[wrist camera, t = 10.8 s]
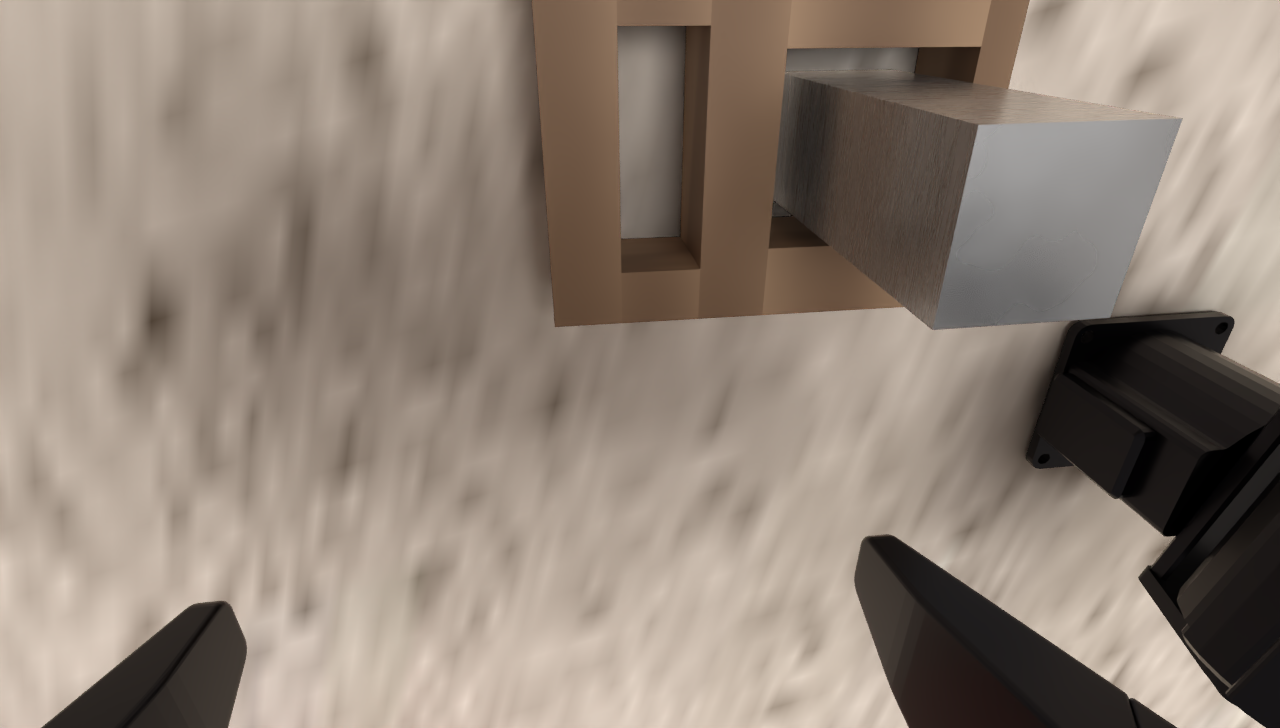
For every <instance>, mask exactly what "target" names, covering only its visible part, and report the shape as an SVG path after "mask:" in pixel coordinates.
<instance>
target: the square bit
mask: <svg viewBox="0 0 1280 728" xmlns="http://www.w3.org/2000/svg"><path fill="white" fill-rule="evenodd" d="M1182 119H1183V118H1177V117H1171V116H1165V115H1160V114H1154V113H1148V112H1142V111H1136V110H1130V109H1124V108H1118V107H1112V106H1106V105H1100V104H1094V103H1088V102H1082V101H1077V100H1071V99H1065V98H1059V97H1053V96H1047V95H1041V94H1035V93H1029V92H1023V91H1017V90H1011V89H1005V88H999V87H994V86H988V85H982V84H976V83H970V82H964V81H958V80H952V79H946V78H940V77H934V76H928V75H922V74H916V73H911V72H905V71H899V70H893V69H886V70H839V71H792V72H785V79H784V89H783V100H782V111H781V121H780V132H779V143H778V153H777V164H776V174H775V185H774V196H773V200H774V201H776V202H777V203H778V204H779V205H780V206H782V207H783V208H784V209H785V210H787V211H788V212H789V213H790V214H791V215H793V216H794V217H795V218H796V219H798V220H799V221H800V222H801V223H802V224H804V225H805V226H806V227H807V228H809V229H810V230H811V231H812V232H813V233H815V234H816V235H817V236H818V237H820V238H821V239H822V240H823V241H824V242H826V243H827V244H828V245H829V246H831V247H832V248H833V249H834V250H835V251H837V252H838V253H839V254H840V255H842V256H843V257H844V258H845V259H846V260H848V261H849V262H850V263H851V264H853V265H854V266H855V267H856V268H857V269H859V270H860V271H861V272H862V273H864V274H865V275H866V276H867V277H868V278H870V279H871V280H872V281H873V282H875V283H876V284H877V285H878V286H879V287H881V288H882V289H883V290H884V291H886V292H887V293H888V294H889V295H890V296H892V297H893V298H894V299H895V300H897V301H898V302H899V303H900V304H901V305H903V306H904V307H905V308H906V309H908V310H909V311H910V312H911V313H912V314H914V315H915V316H916V317H917V318H919V319H920V320H921V321H922V322H923V323H925V324H926V325H927V326H928V327H930V328H931V329H932V330H938V329H953V328H967V327H982V326H997V325H1011V324H1026V323H1041V322H1055V321H1070V320H1085V319H1099V318H1110V317H1111V314H1112V311H1113V308H1114V306H1115V303H1116V300H1117V297H1118V295H1119V292H1120V289H1121V286H1122V284H1123V281H1124V278H1125V275H1126V273H1127V270H1128V267H1129V264H1130V262H1131V259H1132V256H1133V253H1134V251H1135V248H1136V245H1137V242H1138V240H1139V237H1140V234H1141V231H1142V229H1143V226H1144V223H1145V220H1146V218H1147V215H1148V212H1149V209H1150V207H1151V204H1152V201H1153V198H1154V196H1155V193H1156V190H1157V187H1158V185H1159V182H1160V179H1161V176H1162V174H1163V171H1164V168H1165V165H1166V163H1167V160H1168V157H1169V154H1170V152H1171V149H1172V146H1173V143H1174V141H1175V138H1176V135H1177V132H1178V130H1179V127H1180V124H1181V121H1182Z"/></svg>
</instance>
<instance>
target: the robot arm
mask: <svg viewBox="0 0 1280 728" xmlns="http://www.w3.org/2000/svg"><path fill="white" fill-rule="evenodd" d="M1233 327H1234V319H1233V318H1232V317H1231V316H1229V315H1226V314H1224V313H1222V312H1205V313H1189V314H1173V315H1157V316H1141V317H1124V318H1108V319H1092V320H1082V321H1079V322H1077V323H1075V324H1074V325H1073V326H1072V327H1071V328H1070V329H1069V331H1068V333H1067V336H1066V339H1065V342H1064V345H1063V348H1062V351H1061V354H1060V357H1059V360H1058V362H1057V365H1056V368H1055V371H1054V374H1053V377H1052V380H1051V383H1050V386H1049V389H1048V392H1047V395H1046V398H1045V401H1044V404H1043V406H1042V409H1041V412H1040V415H1039V418H1038V421H1037V424H1036V427H1035V430H1034V433H1033V436H1032V439H1031V442H1030V445H1029V448H1028V450H1027V453H1026V459H1027V461H1028V462H1029V463H1030V464H1031V465H1032V466H1033V467H1035V468H1038V469H1043V468H1054V467H1065V466H1076V467H1077V468H1078V469H1079V470H1080V471H1081V472H1083V473H1084V474H1085V475H1086V476H1087V477H1088V478H1090V479H1091V480H1092V481H1093V482H1094V483H1095V484H1097V485H1098V486H1099V487H1100V488H1101V489H1102V490H1104V491H1105V492H1106V493H1107V494H1108V495H1109V496H1111V497H1112V498H1114V499H1118V498H1120V499H1121V500H1122V501H1123V502H1124V503H1126V504H1127V505H1128V506H1129V507H1130V508H1131V509H1133V510H1134V511H1135V512H1136V513H1137V514H1139V515H1140V516H1141V517H1142V518H1143V519H1144V520H1146V521H1147V522H1148V523H1149V524H1150V525H1152V526H1153V527H1154V528H1155V529H1156V530H1158V531H1159V532H1160V533H1161V534H1162V535H1163V536H1175V538H1174V539H1173V540H1172V541H1171V543H1170V544H1169V545H1168V546H1167V548H1166V549H1165V550H1164V551H1163V552H1162V554H1161V555H1160V556H1159V557H1158V559H1157V560H1156V561H1155V562H1154V564H1153V565H1152V566H1150V565H1149V566H1147V567H1146V568H1145V570H1144V571H1143V572H1142V573H1141V575H1140V576H1139V577H1138V578H1139V580H1140V582H1141V583H1142V585H1143V586H1144V587H1145V589H1146V590H1147V592H1148V593H1149V595H1150V596H1151V597H1152V599H1153V600H1154V602H1155V603H1156V605H1157V606H1158V607H1159V609H1160V610H1161V612H1162V613H1163V615H1164V616H1165V617H1166V619H1167V620H1168V622H1169V623H1170V625H1171V626H1172V627H1173V629H1174V630H1175V632H1176V633H1177V635H1178V636H1179V637H1180V639H1181V640H1182V642H1183V643H1184V645H1185V646H1186V647H1187V649H1188V650H1189V652H1190V653H1191V655H1192V656H1193V657H1194V659H1195V660H1196V662H1197V663H1198V664H1199V666H1200V667H1201V669H1202V670H1203V672H1204V673H1205V674H1206V675H1207V677H1208V678H1209V679H1210V680H1211V682H1212V683H1213V685H1214V686H1215V687H1216V689H1217V690H1218V692H1219V693H1220V694H1221V695H1222V696H1223V697H1224V698H1225V699H1226V700H1228V701H1229V702H1231V703H1232V704H1234V705H1236V706H1238V707H1239V708H1240V709H1241V710H1242V711H1244V712H1245V713H1246V714H1248V715H1249V716H1250V717H1252V718H1253V719H1255V720H1256V721H1257V722H1259V723H1260V724H1261V725H1263V726H1264V727H1266V728H1280V384H1279V383H1277V382H1275V381H1273V380H1271V379H1269V378H1267V377H1265V376H1263V375H1261V374H1259V373H1257V372H1255V371H1253V370H1251V369H1249V368H1247V367H1245V366H1243V365H1241V364H1239V363H1237V362H1235V361H1233V360H1231V359H1229V358H1227V357H1225V356H1223V355H1221V352H1222V350H1223V348H1224V346H1225V344H1226V342H1227V340H1228V338H1229V335H1230V333H1231V331H1232V329H1233ZM1085 332H1086V333H1085ZM1084 333H1085V335H1084V336H1082V335H1083V334H1084ZM854 581H855V588H856V592H857V595H858V598H859V601H860V604H861V606H862V609H863V612H864V615H865V618H866V621H867V623H868V626H869V629H870V632H871V635H872V638H873V640H874V643H875V646H876V649H877V652H878V655H879V657H880V660H881V663H882V666H883V669H884V672H885V674H886V677H887V680H888V682H889V685H890V688H891V690H892V692H893V694H894V697H895V699H896V701H897V703H898V706H899V708H900V710H901V712H902V714H903V716H904V718H905V720H906V723H907V725H908V727H909V728H1177V727H1175V726H1174V725H1172V724H1171V723H1169V722H1168V721H1166V720H1165V719H1163V718H1162V717H1160V716H1159V715H1157V714H1156V713H1154V712H1153V711H1151V710H1150V709H1149V708H1147V707H1146V706H1144V705H1143V704H1141V703H1140V702H1138V701H1137V700H1135V699H1133V698H1130V699H1129V698H1128V696H1127V694H1126V693H1125V692H1123V691H1122V690H1120V689H1119V688H1117V687H1116V686H1114V685H1113V684H1111V683H1110V682H1108V681H1107V680H1106V679H1104V678H1103V677H1101V676H1100V675H1098V674H1097V673H1095V672H1094V671H1092V670H1091V669H1089V668H1088V667H1086V666H1085V665H1083V664H1082V663H1080V662H1079V661H1078V660H1076V659H1075V658H1073V657H1072V656H1070V655H1069V654H1067V653H1066V652H1064V651H1063V650H1061V649H1060V648H1058V647H1057V646H1055V645H1054V644H1052V643H1051V642H1050V641H1048V640H1047V639H1045V638H1044V637H1042V636H1041V635H1039V634H1038V633H1036V632H1035V631H1033V630H1032V629H1030V628H1029V627H1027V626H1026V625H1025V624H1023V623H1022V622H1020V621H1019V620H1017V619H1016V618H1014V617H1013V616H1011V615H1010V614H1008V613H1007V612H1005V611H1004V610H1002V609H1001V608H999V607H998V606H997V605H995V604H994V603H992V602H991V601H989V600H988V599H986V598H985V597H983V596H982V595H980V594H979V593H977V592H976V591H974V590H973V589H972V588H970V587H969V586H967V585H966V584H964V583H963V582H961V581H960V580H958V579H957V578H955V577H954V576H952V575H951V574H949V573H948V572H946V571H945V570H944V569H942V568H941V567H939V566H938V565H936V564H935V563H933V562H932V561H930V560H929V559H927V558H926V557H924V556H923V555H921V554H920V553H918V552H917V551H916V550H914V549H913V548H911V547H910V546H908V545H907V544H905V543H904V542H902V541H901V540H899V539H898V538H896V537H895V536H892V535H889V534H885V535H875V536H867V537H865V538H864V539H863V541H862V543H861V547H860V552H859V556H858V561H857V566H856V571H855V577H854ZM246 654H247V645H246V640H245V637H244V635H243V633H242V630H241V628H240V626H239V623H238V621H237V619H236V616H235V614H234V612H233V609H232V607H231V606H230V604H228V603H227V602H226V601H215V602H205V603H197V604H193V605H191V606H190V607H188V608H187V609H185V610H184V611H183V612H182V613H180V614H179V615H178V616H177V617H176V618H174V619H173V620H172V621H171V622H170V623H168V624H167V625H166V626H165V627H163V628H162V629H161V630H160V631H159V632H157V633H156V634H155V635H154V636H152V637H151V638H150V639H149V640H148V641H146V642H145V643H144V644H143V645H142V646H140V647H139V648H138V649H137V650H135V651H134V652H133V653H132V654H131V655H129V656H128V657H127V658H126V659H124V660H123V661H122V662H121V663H120V664H118V665H117V666H116V667H115V668H113V669H112V670H111V671H110V672H109V673H107V674H106V675H105V676H104V677H103V678H101V679H100V680H99V681H98V682H96V683H95V684H94V685H93V686H92V687H90V688H89V689H88V690H87V691H85V692H84V693H83V694H82V695H81V696H79V697H78V698H77V699H76V700H75V701H73V702H72V703H71V704H70V705H68V706H67V707H66V708H65V709H64V710H62V711H61V712H60V713H59V714H57V715H56V716H55V717H54V718H53V719H51V720H50V721H49V722H48V723H46V724H45V725H44V726H43V727H42V728H228V726H229V722H230V718H231V714H232V710H233V706H234V703H235V699H236V695H237V691H238V687H239V683H240V680H241V676H242V672H243V668H244V664H245V660H246Z"/></svg>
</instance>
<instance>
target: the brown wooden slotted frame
mask: <svg viewBox="0 0 1280 728" xmlns="http://www.w3.org/2000/svg"><path fill="white" fill-rule="evenodd" d="M1029 1H1030V0H532V11H533V25H534V39H535V53H536V67H537V81H538V95H539V109H540V124H541V138H542V152H543V166H544V180H545V194H546V208H547V222H548V236H549V251H550V265H551V279H552V293H553V307H554V321H555V327H563V326H580V325H597V324H615V323H632V322H649V321H667V320H684V319H702V318H719V317H736V316H754V315H771V314H788V313H806V312H823V311H841V310H858V309H875V308H893V307H904V306H903V305H901V304H900V303H899V302H898V301H897V300H895V299H894V298H893V297H892V296H890V295H889V294H888V293H887V292H886V291H884V290H883V289H882V288H881V287H879V286H878V285H877V284H876V283H875V282H873V281H872V280H871V279H870V278H868V277H867V276H866V275H865V274H864V273H862V272H861V271H860V270H859V269H857V268H856V267H855V266H854V265H853V264H851V263H850V262H849V261H848V260H846V259H845V258H844V257H843V256H842V255H840V254H839V253H838V252H837V251H835V250H834V249H833V248H832V247H831V246H829V245H828V244H827V243H826V242H824V241H823V240H822V239H821V238H820V237H818V236H817V235H816V234H815V233H813V232H812V231H811V230H810V229H809V228H807V227H806V226H805V225H804V224H802V223H801V222H800V221H799V220H798V219H796V218H795V217H772V206H773V196H774V185H775V174H776V164H777V153H778V143H779V132H780V121H781V111H782V100H783V89H784V79H785V68H786V58H787V48H884V47H919V53H918V58H917V64H916V69H915V73H916V74H922V75H928V76H934V77H940V78H946V79H952V80H958V81H964V82H970V83H976V84H982V85H988V86H994V87H999V88H1005V89H1008V87H1009V83H1010V78H1011V74H1012V70H1013V66H1014V62H1015V58H1016V54H1017V50H1018V46H1019V42H1020V38H1021V34H1022V29H1023V25H1024V21H1025V17H1026V13H1027V9H1028V5H1029ZM617 26H686V51H685V87H684V124H683V160H682V196H681V233H680V237H660V238H637V239H621V222H620V163H619V104H618V45H617Z"/></svg>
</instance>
